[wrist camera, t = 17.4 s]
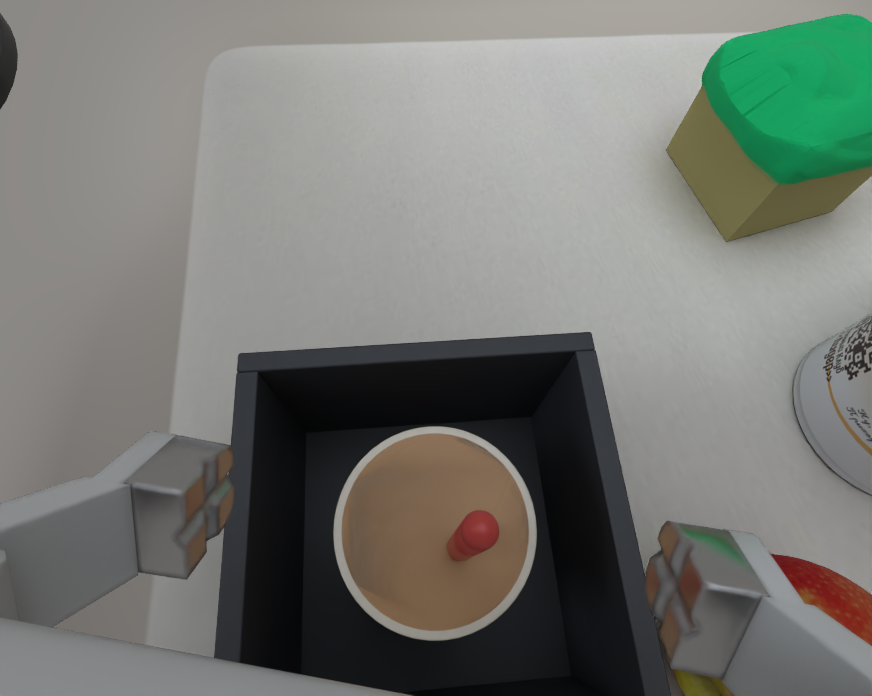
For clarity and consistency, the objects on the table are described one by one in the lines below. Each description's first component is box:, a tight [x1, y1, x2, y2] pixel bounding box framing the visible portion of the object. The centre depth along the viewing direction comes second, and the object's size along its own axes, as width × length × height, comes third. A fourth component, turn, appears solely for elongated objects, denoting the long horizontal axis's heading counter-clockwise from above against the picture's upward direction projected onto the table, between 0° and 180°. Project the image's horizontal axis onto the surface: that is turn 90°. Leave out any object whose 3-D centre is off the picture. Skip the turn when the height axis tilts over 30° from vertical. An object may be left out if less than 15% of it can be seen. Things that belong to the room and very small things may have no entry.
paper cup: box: [333, 426, 537, 641], centre depth 18 cm, size 6×6×16 cm
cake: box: [666, 14, 872, 242], centre depth 32 cm, size 10×11×10 cm
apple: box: [673, 554, 872, 696], centre depth 21 cm, size 8×8×8 cm
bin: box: [214, 332, 671, 696], centre depth 22 cm, size 14×14×10 cm
